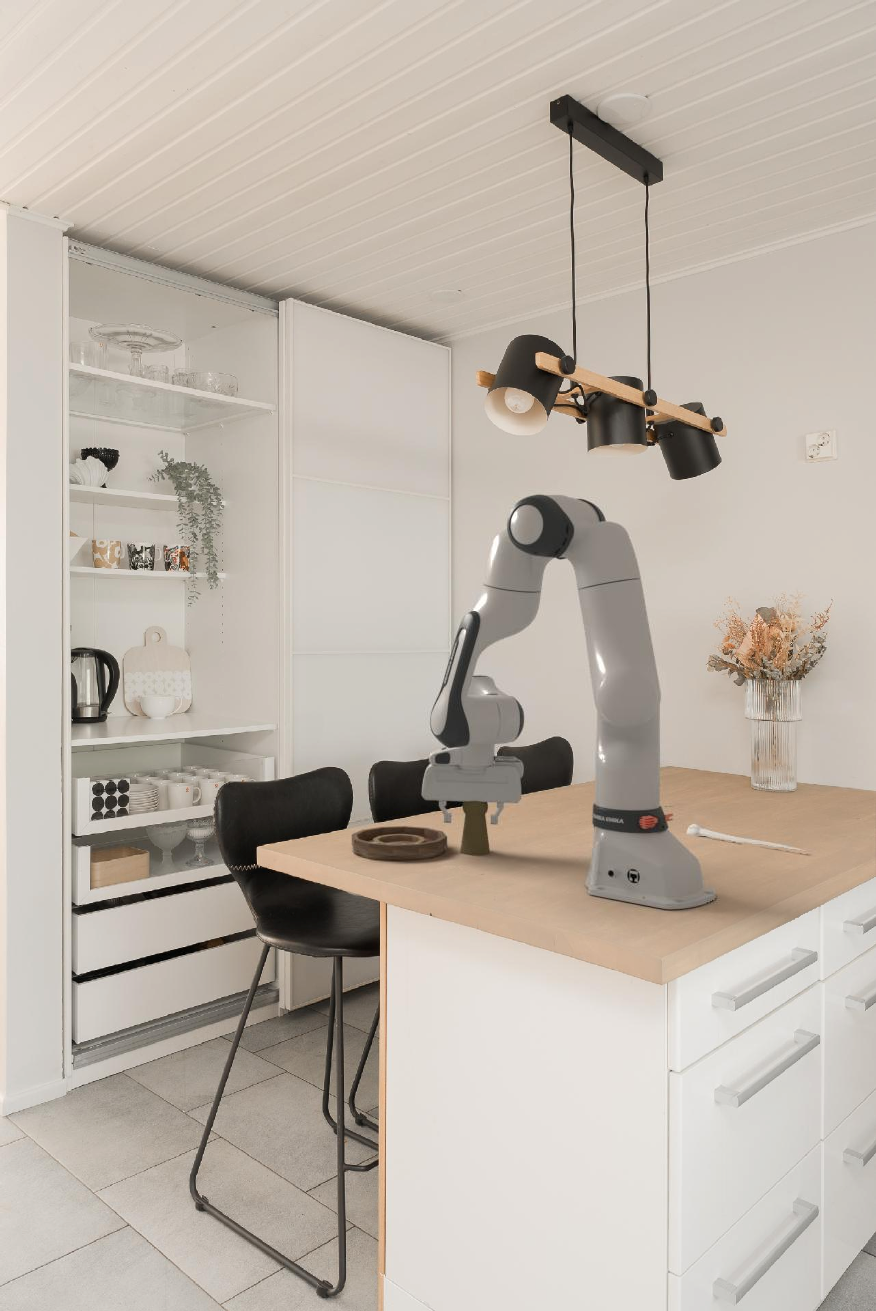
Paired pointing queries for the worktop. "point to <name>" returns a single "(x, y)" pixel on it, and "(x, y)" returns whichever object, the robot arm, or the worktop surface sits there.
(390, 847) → the tray
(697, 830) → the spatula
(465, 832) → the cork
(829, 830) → the worktop surface
